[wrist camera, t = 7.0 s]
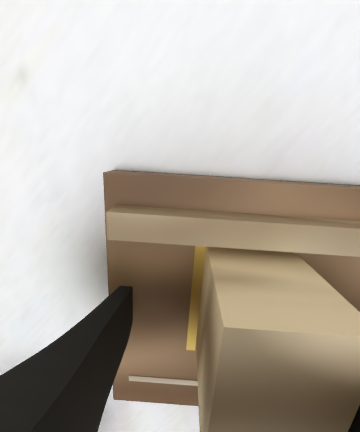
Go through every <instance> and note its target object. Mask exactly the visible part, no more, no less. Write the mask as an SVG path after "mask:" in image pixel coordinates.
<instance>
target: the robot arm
mask: <svg viewBox="0 0 360 432" xmlns="http://www.w3.org/2000/svg"><path fill="white" fill-rule="evenodd" d="M132 323H133V287H131V286H119V287H118V288H117V289H116V290H114V291H113V292H112V293H111V294H110V295H109V296H108V297H107V298H106V299H105V300H104V301H103V302H102V303H101V304H99V305H98V306H97V307H96V308H95V309H94V310H93V311H92V312H90V313H89V314H88V315H87V316H86V317H85V318H84V319H82V320H81V321H80V322H79V323H77V324H76V325H75V326H74V327H72V328H71V329H70V330H69V331H67V332H66V333H65V334H64V335H62V336H61V337H60V338H58V339H57V340H55V341H54V342H53V343H51V344H50V345H48V346H47V347H45V348H44V349H42V350H41V351H39V352H38V353H36V354H35V355H33V356H32V357H30V358H28V359H27V360H25V361H24V362H22V363H20V364H19V365H17V366H15V367H14V368H12V369H11V370H9V371H7V372H6V373H4V374H2V375H0V432H97V431H98V428H99V424H100V421H101V417H102V414H103V411H104V408H105V405H106V402H107V399H108V396H109V393H110V390H111V388H112V385H113V382H114V379H115V377H116V374H117V371H118V369H119V366H120V363H121V360H122V358H123V355H124V352H125V349H126V346H127V343H128V340H129V336H130V332H131V327H132ZM348 432H360V406H359V408H358V410H357V412H356V415H355V417H354V419H353V421H352V424H351V426H350V428H349V430H348Z"/></svg>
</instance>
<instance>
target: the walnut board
mask: <svg viewBox="0 0 360 432" xmlns="http://www.w3.org/2000/svg"><path fill="white" fill-rule="evenodd" d="M103 178H104V200H105V222H106V244H107V266H108V288H109V295H110V294H111V293H112V292H113V291H114V290H116V289H117V288H118V287H119V286H131V287H133V323H132V327H131V332H130V336H129V340H128V343H127V346H126V349H125V352H124V355H123V358H122V360H121V363H120V366H119V369H118V371H117V374H116V377H115V379H114V382H113V398H114V400H127V401H140V402H153V403H166V404H179V405H192V406H199V402H198V380H197V358H196V337H197V327H198V318H199V308H200V299H201V289H202V280H203V270H204V261H205V251H206V247H221V248H236V249H250V250H265V251H280V252H295V253H296V254H298V255H299V256H300V257H301V258H302V259H303V260H304V261H305V262H306V263H307V264H308V265H309V266H310V267H312V268H313V269H314V270H315V271H316V272H317V273H318V274H319V275H320V276H321V277H322V278H323V279H325V280H326V281H327V282H328V283H329V284H330V285H331V286H332V287H333V288H334V289H335V290H336V291H337V292H339V293H340V294H341V295H342V296H343V297H344V298H345V299H346V300H347V301H348V302H349V303H350V304H351V305H353V306H354V307H355V308H356V309H357V310H358V311H359V312H360V186H359V185H344V184H328V183H312V182H297V181H281V180H265V179H249V178H234V177H218V176H202V175H187V174H171V173H155V172H140V171H124V170H112V171H108V172H104V173H103Z"/></svg>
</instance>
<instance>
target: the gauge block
mask: <svg viewBox="0 0 360 432" xmlns="http://www.w3.org/2000/svg"><path fill="white" fill-rule="evenodd" d="M196 358H197V380H198V402H199V423H200V432H348V430H349V428H350V426H351V424H352V421H353V419H354V417H355V415H356V412H357V410H358V408H359V406H360V312H359V311H358V310H357V309H356V308H355V307H354V306H353V305H351V304H350V303H349V302H348V301H347V300H346V299H345V298H344V297H343V296H342V295H341V294H340V293H339V292H337V291H336V290H335V289H334V288H333V287H332V286H331V285H330V284H329V283H328V282H327V281H326V280H325V279H323V278H322V277H321V276H320V275H319V274H318V273H317V272H316V271H315V270H314V269H313V268H312V267H310V266H309V265H308V264H307V263H306V262H305V261H304V260H303V259H302V258H301V257H300V256H299V255H298V254H296V253H295V252H280V251H265V250H250V249H236V248H221V247H206V251H205V261H204V270H203V280H202V289H201V299H200V308H199V318H198V327H197V337H196Z"/></svg>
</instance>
